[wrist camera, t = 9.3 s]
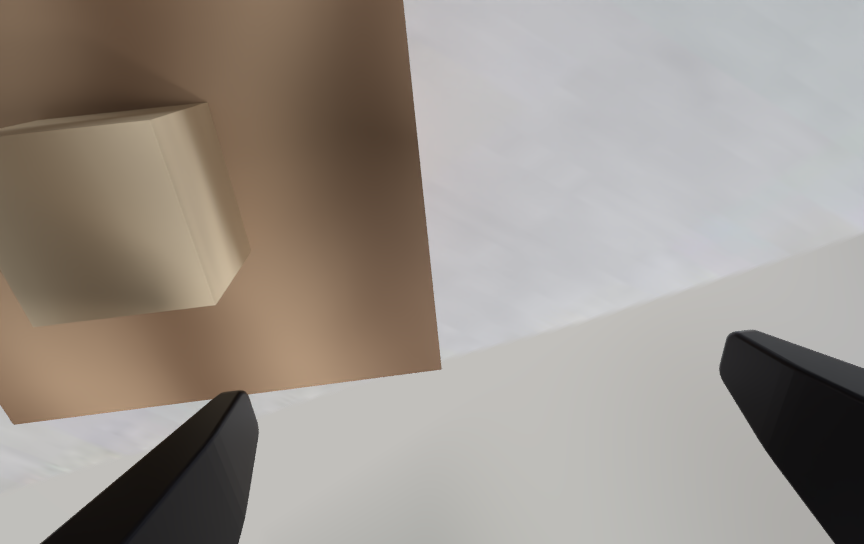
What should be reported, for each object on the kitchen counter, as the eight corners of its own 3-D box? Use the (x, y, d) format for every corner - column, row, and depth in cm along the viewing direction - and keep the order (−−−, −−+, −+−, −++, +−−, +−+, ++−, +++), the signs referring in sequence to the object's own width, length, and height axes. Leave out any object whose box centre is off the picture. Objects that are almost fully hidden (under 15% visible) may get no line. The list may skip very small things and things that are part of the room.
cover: (383, -173, 10) (380, -289, 6) (439, 354, 16) (452, 437, 13) (-303, -115, 9) (-695, -205, 6) (31, 407, 16) (-69, 507, 12)
